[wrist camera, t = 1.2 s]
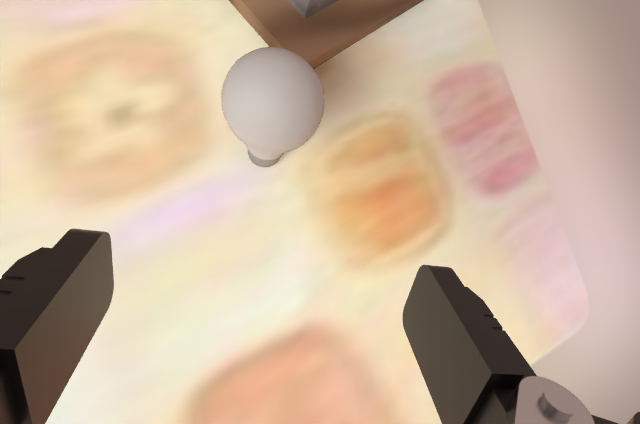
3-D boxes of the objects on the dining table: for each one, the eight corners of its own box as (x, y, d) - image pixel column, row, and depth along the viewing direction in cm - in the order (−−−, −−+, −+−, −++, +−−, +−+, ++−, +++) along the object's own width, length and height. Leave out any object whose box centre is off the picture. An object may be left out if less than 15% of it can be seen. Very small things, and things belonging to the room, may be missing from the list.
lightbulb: (301, 126, 32) (334, 31, 22) (300, 195, 30) (336, 128, 20) (226, 118, 31) (223, 14, 20) (221, 190, 29) (215, 115, 19)
